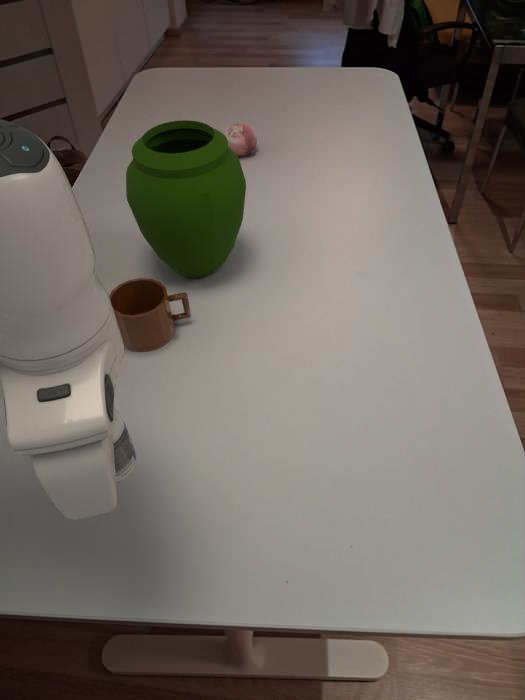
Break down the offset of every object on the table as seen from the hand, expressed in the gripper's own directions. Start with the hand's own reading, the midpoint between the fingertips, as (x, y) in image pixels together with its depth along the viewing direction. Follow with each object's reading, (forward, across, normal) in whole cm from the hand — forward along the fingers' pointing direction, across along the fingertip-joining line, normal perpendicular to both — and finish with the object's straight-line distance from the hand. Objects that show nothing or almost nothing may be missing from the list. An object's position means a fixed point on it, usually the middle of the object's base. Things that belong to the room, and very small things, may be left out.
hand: (105, 445), depth 50 cm
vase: (+19, -49, +14) cm, 55 cm away
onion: (+19, -89, +31) cm, 96 cm away
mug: (+19, -34, +5) cm, 39 cm away
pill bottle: (+3, 0, 0) cm, 3 cm away
